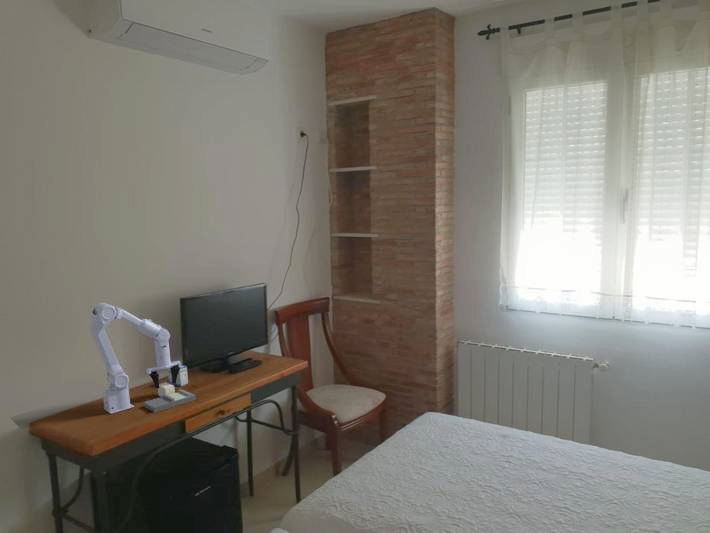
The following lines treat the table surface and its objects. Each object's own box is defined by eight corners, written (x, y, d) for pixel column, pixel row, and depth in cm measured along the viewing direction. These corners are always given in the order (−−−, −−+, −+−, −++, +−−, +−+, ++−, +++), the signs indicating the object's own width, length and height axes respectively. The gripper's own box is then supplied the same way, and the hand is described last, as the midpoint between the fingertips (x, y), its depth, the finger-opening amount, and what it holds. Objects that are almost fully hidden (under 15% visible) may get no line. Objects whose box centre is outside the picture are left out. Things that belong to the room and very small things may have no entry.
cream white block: (166, 399, 230) (165, 388, 230) (158, 395, 236) (157, 384, 236) (175, 397, 233) (174, 385, 232) (167, 393, 239) (166, 382, 238)
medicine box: (168, 384, 250) (167, 366, 249) (176, 381, 254) (174, 363, 253) (181, 386, 247) (179, 368, 246) (188, 383, 250) (186, 365, 250)
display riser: (154, 412, 216) (153, 404, 215) (144, 406, 223) (143, 399, 222) (195, 399, 228) (195, 392, 227) (185, 394, 235) (184, 387, 235)
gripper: (150, 360, 225) (153, 392, 226) (182, 352, 235) (185, 382, 236) (143, 357, 230) (146, 388, 231) (175, 350, 240) (178, 379, 241)
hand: (165, 385), depth 234 cm, fingers open, 7 cm apart
